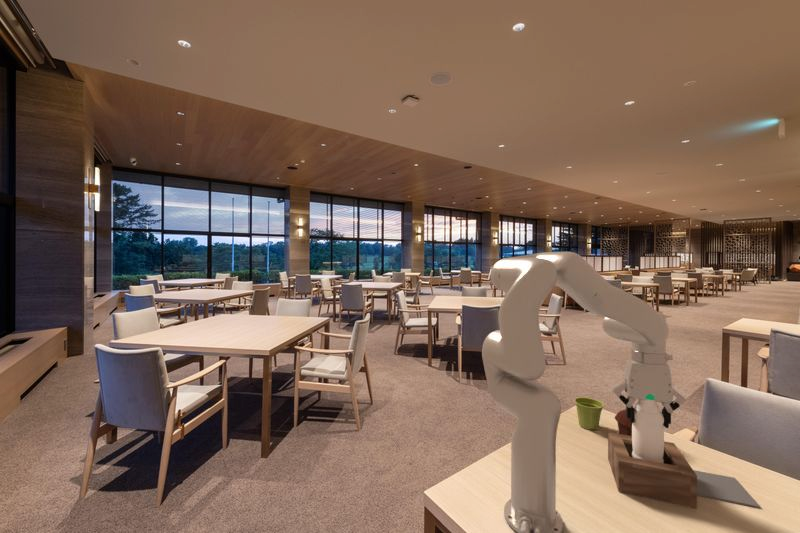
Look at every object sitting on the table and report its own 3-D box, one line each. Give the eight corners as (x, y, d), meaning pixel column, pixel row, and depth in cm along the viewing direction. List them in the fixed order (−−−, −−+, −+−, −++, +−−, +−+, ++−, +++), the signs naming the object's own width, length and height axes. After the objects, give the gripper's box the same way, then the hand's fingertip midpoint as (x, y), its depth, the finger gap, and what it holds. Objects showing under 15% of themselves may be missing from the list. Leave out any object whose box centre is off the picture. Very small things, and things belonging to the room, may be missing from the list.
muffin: (653, 437, 115) (653, 408, 115) (662, 454, 105) (662, 421, 105) (612, 430, 120) (612, 402, 120) (616, 445, 110) (617, 414, 110)
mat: (760, 508, 82) (760, 506, 82) (697, 495, 87) (697, 493, 87) (734, 479, 93) (734, 477, 93) (679, 468, 98) (679, 467, 98)
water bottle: (653, 473, 96) (653, 384, 95) (670, 490, 89) (671, 394, 88) (626, 472, 96) (626, 383, 96) (641, 488, 89) (641, 393, 89)
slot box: (696, 508, 82) (697, 475, 82) (618, 491, 88) (618, 460, 88) (673, 471, 97) (673, 443, 97) (608, 458, 103) (608, 432, 103)
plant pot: (580, 417, 130) (580, 395, 130) (607, 426, 123) (608, 402, 123) (569, 425, 124) (569, 401, 124) (597, 435, 117) (597, 410, 117)
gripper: (683, 357, 92) (682, 423, 92) (608, 350, 99) (608, 412, 99) (694, 364, 85) (693, 436, 86) (613, 357, 92) (612, 423, 92)
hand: (647, 422), depth 92 cm, fingers closed on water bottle, 7 cm apart
